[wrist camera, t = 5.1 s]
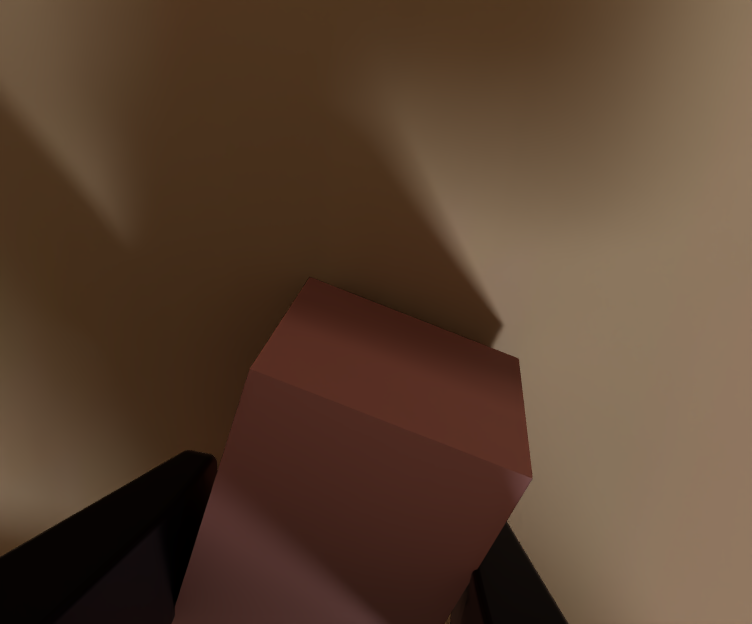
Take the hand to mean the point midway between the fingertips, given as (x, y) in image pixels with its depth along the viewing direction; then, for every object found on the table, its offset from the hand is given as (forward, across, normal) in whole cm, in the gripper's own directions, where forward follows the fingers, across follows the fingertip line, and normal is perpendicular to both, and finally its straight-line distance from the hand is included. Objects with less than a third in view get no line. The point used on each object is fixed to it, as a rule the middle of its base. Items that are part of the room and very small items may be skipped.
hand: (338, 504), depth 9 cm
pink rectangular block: (+1, 0, 0) cm, 1 cm away
